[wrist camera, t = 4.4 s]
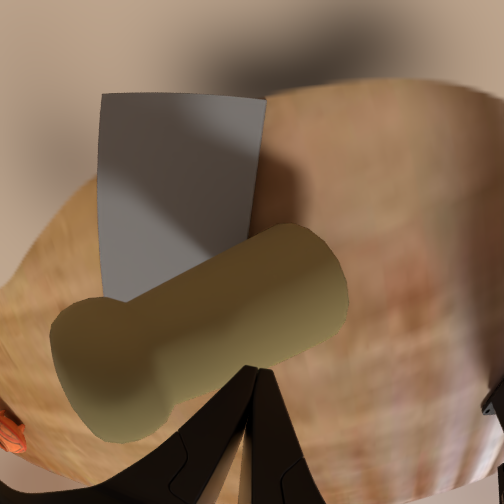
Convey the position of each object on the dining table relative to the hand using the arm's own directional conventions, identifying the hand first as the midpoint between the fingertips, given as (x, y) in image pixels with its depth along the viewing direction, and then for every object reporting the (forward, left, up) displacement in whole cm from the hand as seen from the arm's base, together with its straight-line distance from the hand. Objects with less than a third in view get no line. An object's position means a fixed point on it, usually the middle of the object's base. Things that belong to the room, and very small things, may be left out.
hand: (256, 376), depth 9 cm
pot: (+36, +38, -9) cm, 53 cm away
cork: (-1, 0, -7) cm, 7 cm away
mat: (+6, 0, -9) cm, 11 cm away
